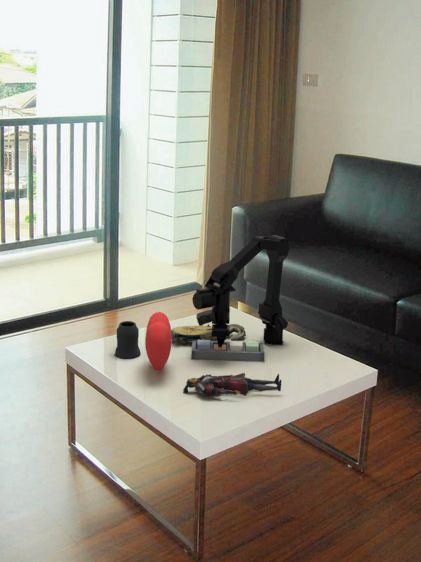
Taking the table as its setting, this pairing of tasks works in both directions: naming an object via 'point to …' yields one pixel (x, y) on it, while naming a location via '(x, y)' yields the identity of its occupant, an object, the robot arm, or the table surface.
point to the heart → (158, 340)
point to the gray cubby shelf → (227, 353)
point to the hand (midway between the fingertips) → (220, 346)
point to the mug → (127, 341)
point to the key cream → (236, 346)
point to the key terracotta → (219, 348)
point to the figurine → (229, 384)
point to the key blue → (203, 345)
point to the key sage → (252, 346)
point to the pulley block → (203, 333)
